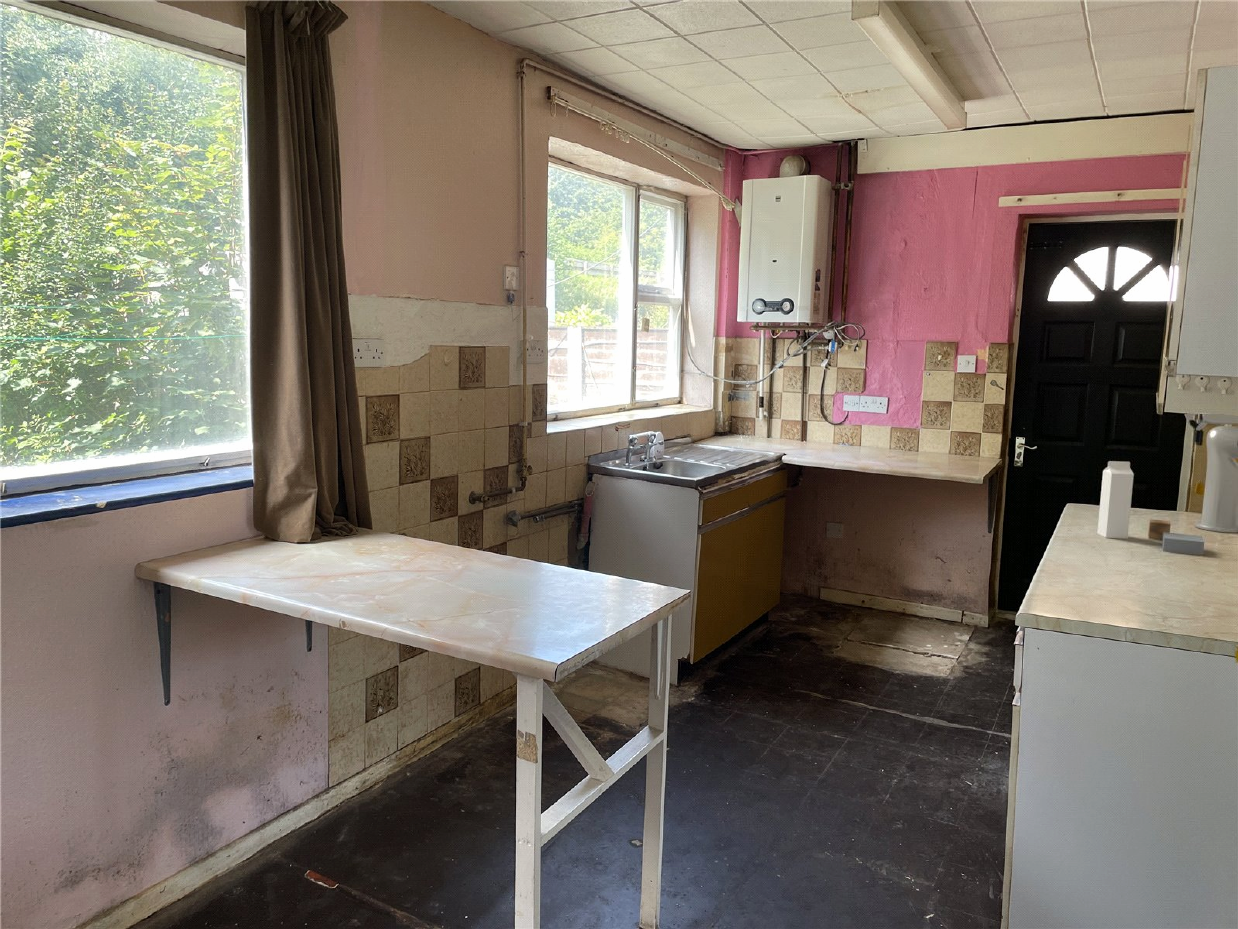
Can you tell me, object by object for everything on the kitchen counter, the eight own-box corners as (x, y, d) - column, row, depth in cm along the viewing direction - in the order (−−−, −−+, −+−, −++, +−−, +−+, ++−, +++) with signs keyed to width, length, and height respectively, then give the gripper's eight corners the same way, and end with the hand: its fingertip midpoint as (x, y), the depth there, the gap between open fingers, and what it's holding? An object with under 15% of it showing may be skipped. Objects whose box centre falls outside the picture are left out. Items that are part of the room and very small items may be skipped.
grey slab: (1200, 550, 240) (1201, 536, 239) (1202, 556, 232) (1204, 542, 231) (1161, 546, 244) (1163, 532, 243) (1163, 552, 236) (1164, 537, 236)
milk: (1127, 539, 251) (1135, 463, 248) (1105, 538, 252) (1113, 462, 249) (1118, 534, 257) (1125, 460, 254) (1096, 533, 258) (1103, 459, 255)
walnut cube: (1167, 538, 254) (1169, 521, 253) (1168, 541, 250) (1170, 524, 249) (1147, 535, 256) (1149, 519, 256) (1148, 539, 252) (1150, 522, 251)
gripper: (1259, 381, 230) (1252, 446, 232) (1184, 379, 235) (1177, 443, 237) (1271, 382, 223) (1263, 449, 225) (1193, 380, 228) (1186, 445, 230)
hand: (1219, 446), depth 231 cm, fingers open, 9 cm apart
